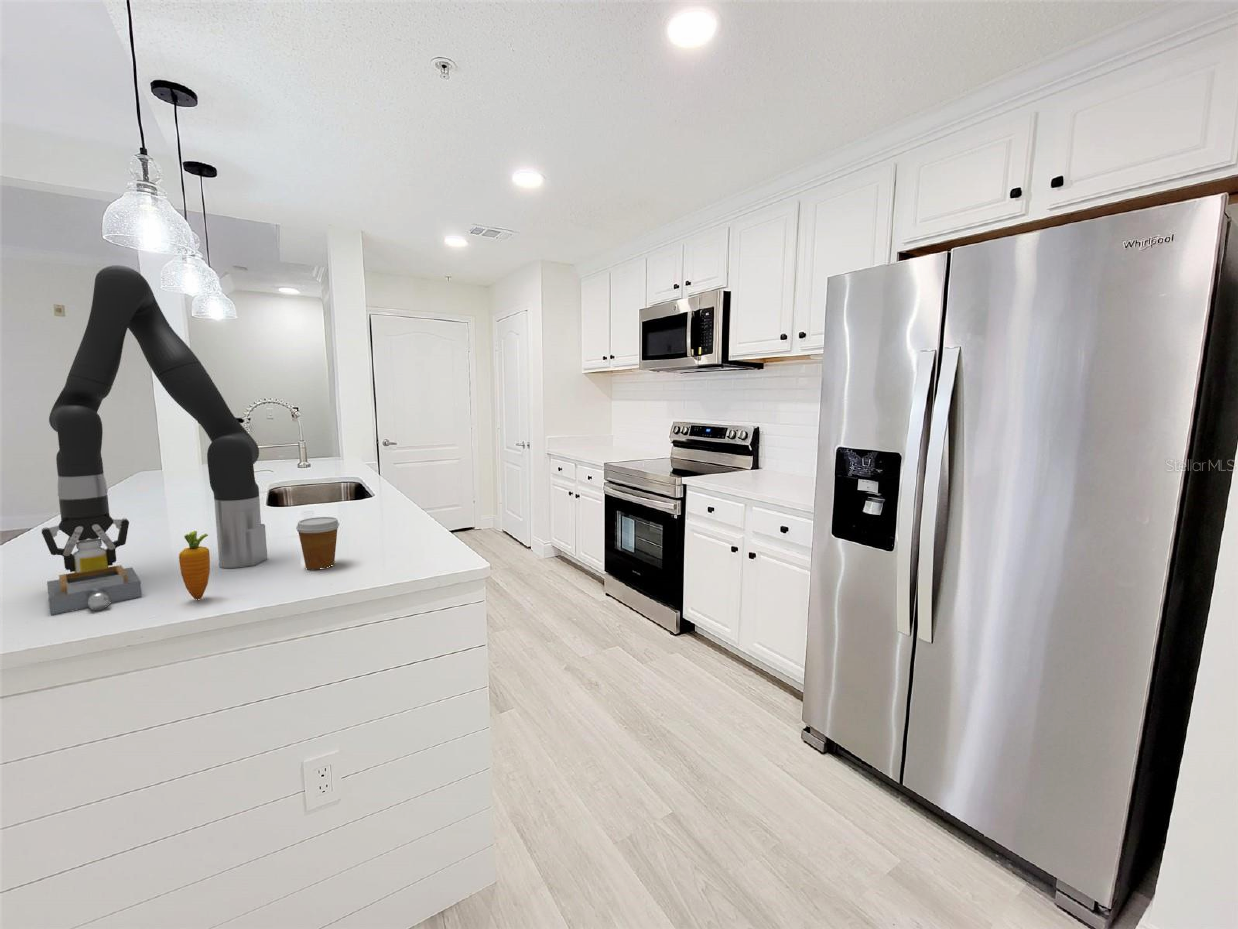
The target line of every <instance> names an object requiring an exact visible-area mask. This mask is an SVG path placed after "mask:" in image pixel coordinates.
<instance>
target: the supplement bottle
mask: <svg viewBox="0 0 1238 929" xmlns="http://www.w3.org/2000/svg"><path fill="white" fill-rule="evenodd" d="M101 546H103V541H102V540H101V539H100V538H97V539H86V540H82V541H77V543H76V545H75V547H76V549H77V551H74V552H73V553H72V554H73V560H74V569H75V571H74V572H73V573H76V572H82V571H88V570H94V569H100V568H106V567H109V566H108V557H107V551H106V549H107V548H106V549H105V548H103V547H101Z"/></svg>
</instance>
